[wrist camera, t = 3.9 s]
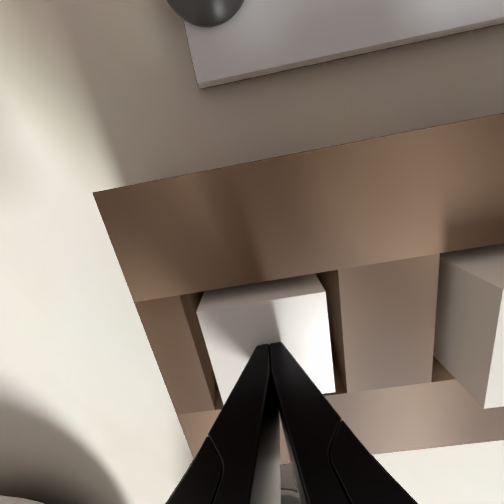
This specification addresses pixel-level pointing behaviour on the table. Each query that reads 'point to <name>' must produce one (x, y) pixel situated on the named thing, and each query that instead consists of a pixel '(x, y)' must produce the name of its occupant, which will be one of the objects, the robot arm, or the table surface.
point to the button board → (324, 269)
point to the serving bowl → (16, 500)
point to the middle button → (472, 321)
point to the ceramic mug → (289, 497)
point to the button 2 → (267, 327)
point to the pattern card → (314, 31)
